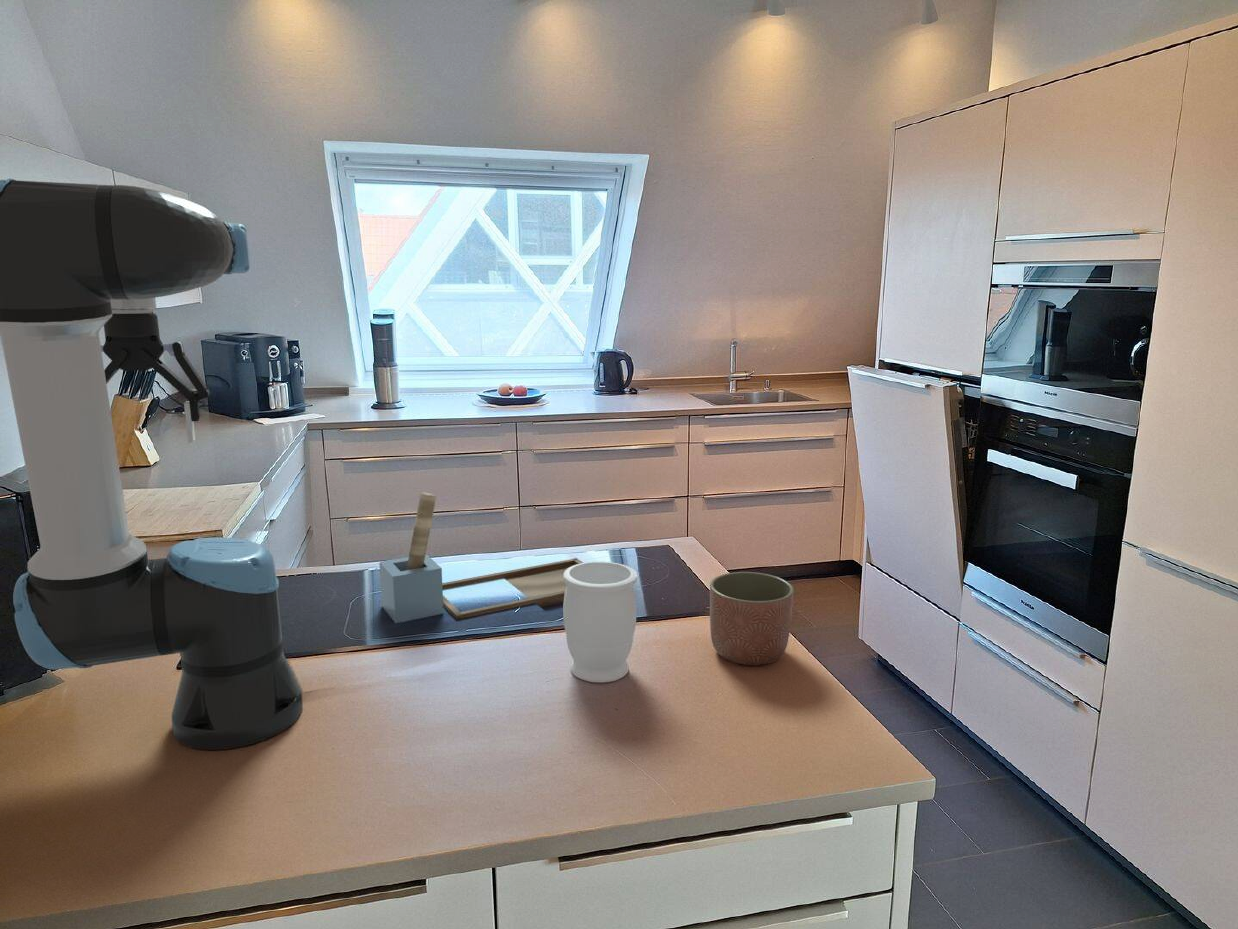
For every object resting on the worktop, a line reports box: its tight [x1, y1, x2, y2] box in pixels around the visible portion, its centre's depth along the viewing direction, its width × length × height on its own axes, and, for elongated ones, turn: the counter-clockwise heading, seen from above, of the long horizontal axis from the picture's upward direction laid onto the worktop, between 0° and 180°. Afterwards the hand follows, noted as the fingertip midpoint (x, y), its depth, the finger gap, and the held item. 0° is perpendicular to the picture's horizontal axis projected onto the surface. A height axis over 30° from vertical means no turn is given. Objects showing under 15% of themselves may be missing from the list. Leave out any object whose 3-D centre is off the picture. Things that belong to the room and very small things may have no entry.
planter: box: [709, 571, 795, 666], centre depth 124 cm, size 12×12×11 cm
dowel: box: [406, 492, 437, 570], centre depth 136 cm, size 3×7×20 cm, turn 121°
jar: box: [562, 561, 638, 684], centre depth 117 cm, size 11×10×15 cm
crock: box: [379, 553, 445, 624], centre depth 136 cm, size 8×8×9 cm
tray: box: [442, 557, 584, 621], centre depth 147 cm, size 15×30×2 cm, turn 121°
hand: (145, 443), depth 134 cm, fingers open, 13 cm apart
